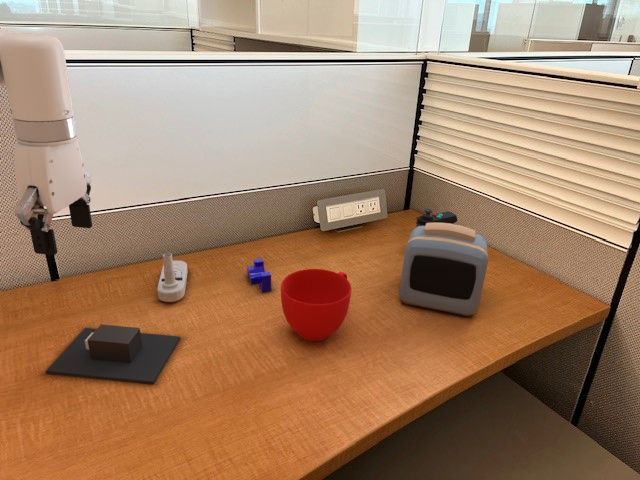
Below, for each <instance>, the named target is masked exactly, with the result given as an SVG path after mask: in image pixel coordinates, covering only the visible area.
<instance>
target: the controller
mask: <svg viewBox="0 0 640 480" xmlns="http://www.w3.org/2000/svg"><path fill="white" fill-rule="evenodd" d="M457 222H458V215H457V214H455V213H453V212H452V211H444V212H437V213H433V210H432V209H430V208H426V209H424V214H422V215H419V216H416V222H415V225H416V227H419V226H426V223H450V224H455V223H457Z"/></svg>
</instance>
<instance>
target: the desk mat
mask: <svg viewBox="0 0 640 480" xmlns="http://www.w3.org/2000/svg"><path fill="white" fill-rule="evenodd" d="M96 329H97V328H92V327H84V328H83V330H82V331H81V332H80V333H78V335H77V336H76V337H75V338H74V339H73V340H72V341H71V342H70V343H69V344H68V346H67V347H66V348H65V349H64V350H63V351H62V352H61V353H60V355H58V357H57V358H56V359H55V360H54V361H53V362H52V363H51V365H50V366H49V367H48V368H46V370H45V373H46V374H48V375H55V376H56V375H58V376H69V377H77V378H87V379H96V380H105V381H107V380H108V381H116V382H126V383H137V384H146V385H155V383H156V381H157V380H158V378H159V376H160V375H161V372H162V371H163V369H164V367H165V366H166V364H167V362H168V360H169V359H170V357H171V355H172V354H173V353H174V350H175V348H176V347H177V345H178V343H179V342H180V340H181V336H179V335H167V334H157V333H156V334H155V333H148V332H147V333H146V332H140V334H141V340H142V348H141V349H140V351H139V352H138V353H137V355H136V356H135V358H134V359H133V361H132V362H131V363H127V362H117V361H106V360H96V359H91V356H90V351H89V349H86V344H85V340H86V339H87V338H88V337H89V335H90V334H91V333H92V332H93V333H94V332H95V331H96Z"/></svg>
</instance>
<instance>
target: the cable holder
mask: <svg viewBox="0 0 640 480" xmlns="http://www.w3.org/2000/svg"><path fill="white" fill-rule="evenodd" d="M252 262H253V264H252V265H248V266H246V276H247V278H248V280H249V283H250V284H251V285H258V287H259V289H260V291H261V293H268V292H272V273H271V272H270V271H266V270H265V261H264V259H263V258H253V261H252Z"/></svg>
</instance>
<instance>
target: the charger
mask: <svg viewBox="0 0 640 480" xmlns="http://www.w3.org/2000/svg"><path fill="white" fill-rule="evenodd" d="M95 329H96V331H95V332H94V333H93V332H92V333H91V334H90V335H89V337H88V338H87V339H86V340H85V344H86V349H89V351H90V356H91V359H96V360H106V361H117V362H127V363H131V362H132V361H133V359H134V358H135V356H136V355H137V353H138V352H139V351H140V349H141V348H142V340H141V334H140V333H141V328H140V327H134V326H123V325H111V324H102V323H101V324H99V326H98V327H97V328H95Z"/></svg>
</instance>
